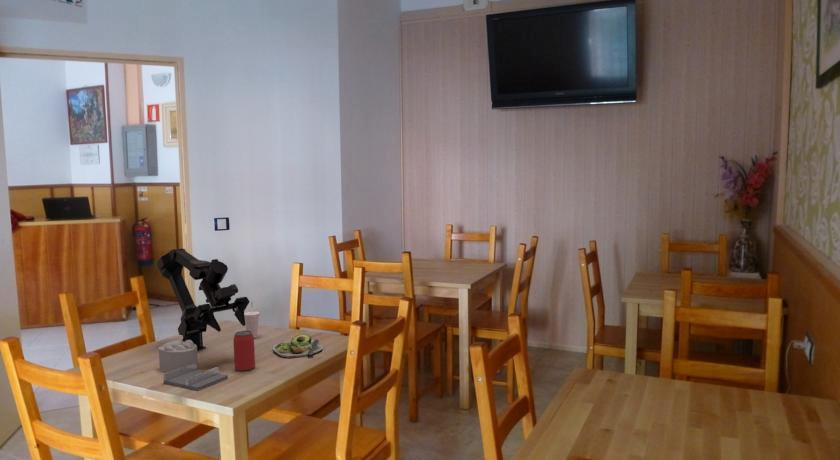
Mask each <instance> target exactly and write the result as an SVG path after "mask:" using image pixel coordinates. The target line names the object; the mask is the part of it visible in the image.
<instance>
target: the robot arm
mask: <svg viewBox="0 0 840 460" xmlns="http://www.w3.org/2000/svg"><path fill="white" fill-rule="evenodd" d="M156 262H157V263H156V267H157V269H158V271H159V273H160V274H161V276H162V277H163V278H166V279H167V280H168V282H169V283H170V286H171V288H172V291H173V293H174V295H175V298H176V300H177V302H178V305H179V308H180V311H181V316H180V324H179V326H178V327H177V331H178V332H177V333H178V335H181V336H182V340H181V341H182V342H185V341H186V340H191V341H192V342H193V344H196V345H197V352H198V351H201V350H205V349H207V346H205V345H204V342H203V341H204V340H203V339H204V338H203V333H205V332H207V328H208V326H209V327H211V328H212V329H214V330H215V331H217V332H218V333H219V332H221V331H222V328H221V326H220V324H219V323H218V320H217V318H216V316H215V313H220V312H223V311H224V312H225V311H228V310H232V312H233V313H234V314H233V315H234V316H235V317H236V319H237V320H238V322H239V323H240V325H242V327H246V326H245V317H244V313H245V311H246V309H247V307H248V306H249V303H250V300H249V297H248V296H241V297H240V296H239V297H236V298H235V300H234V302H231V301H232V297H233V296H235V295H236V294H237V293H239V288H238V286H237V285H236V284H235V283H234V284H230V285H229V286H223V287H221V285H220V284H221V283H222V282H223V280H224V278H225V277H226V274H227V273H228V271H229V270H228V269H229V268H228V265H227V264H226V263H224V262H222V261H220V260H219V259H217V258H215V259H211V261H208V260H201V259H198V258H197V257H195V256H194V255H192V254H191V253H189V252H187V250H186V248H181V247H180V248H174V249H170V250H169V251H168V252H167V253H165V254H164V255H162V256H161V257H160V258H158V260H157V261H156ZM184 268H185V269H186V270H188V271H189V276H190V277H191V278H192V279H193V280H194V281H199V280H201V281H200V282H199V286H198V291H202V292H203V294H204V296H205V298H206V299H205V303H204V304H198V305H195V302H194V300H193V298H192V295H191V292H190V291H189V290H190V289H189V288H188V286H187V284H186V281H185V279H184V277H183V269H184ZM230 302H231V303H230Z"/></svg>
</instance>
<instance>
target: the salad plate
mask: <svg viewBox="0 0 840 460" xmlns="http://www.w3.org/2000/svg"><path fill="white" fill-rule="evenodd" d="M319 341H320V340H319V339H313V340H312V336H311V335H310V334H308V333H302V334H301V333H300V334H297V335H295V336H293V337H292V338H291V340H290V341H288V342H283V341H282V342H280V343H277V344H274V345H273V346H272V352H273V353H275V354H277V355H278V356H280V357H282V358H286V359H287V358H288V359H289V358H290V359H292V358H293V359H294V358H295V359H296V358H301V357H302V356H303V357H308V355H309V356H312V355H314V353H315V354H316V353H319V352H320V351H322V350H323V345H321V344H319Z"/></svg>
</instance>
